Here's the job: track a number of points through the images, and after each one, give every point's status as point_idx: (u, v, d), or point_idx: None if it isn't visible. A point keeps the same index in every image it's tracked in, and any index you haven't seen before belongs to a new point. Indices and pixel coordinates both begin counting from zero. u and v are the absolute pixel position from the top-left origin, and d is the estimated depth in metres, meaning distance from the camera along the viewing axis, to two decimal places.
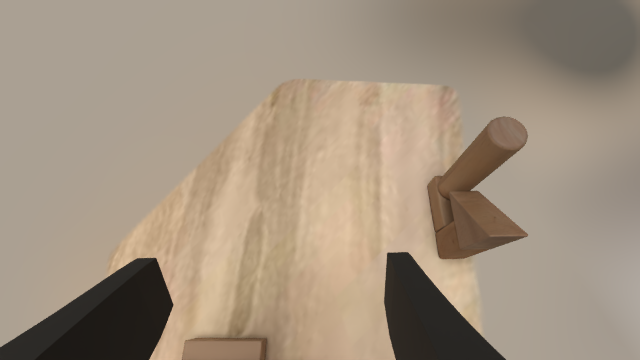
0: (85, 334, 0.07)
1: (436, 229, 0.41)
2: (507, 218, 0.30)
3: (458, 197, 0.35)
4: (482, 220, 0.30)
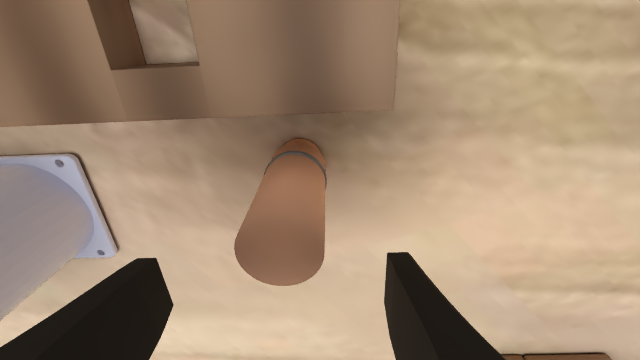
0: (85, 335, 0.07)
1: None
2: None
3: None
4: None
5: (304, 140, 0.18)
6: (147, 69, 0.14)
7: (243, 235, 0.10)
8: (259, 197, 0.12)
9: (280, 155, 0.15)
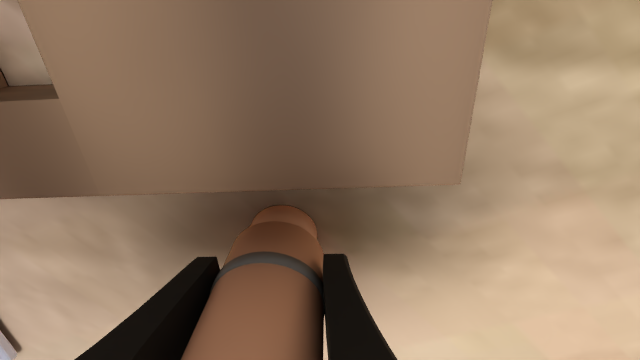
0: (167, 334, 0.07)
1: None
2: None
3: None
4: None
5: (289, 209, 0.11)
6: None
7: None
8: None
9: (238, 263, 0.08)
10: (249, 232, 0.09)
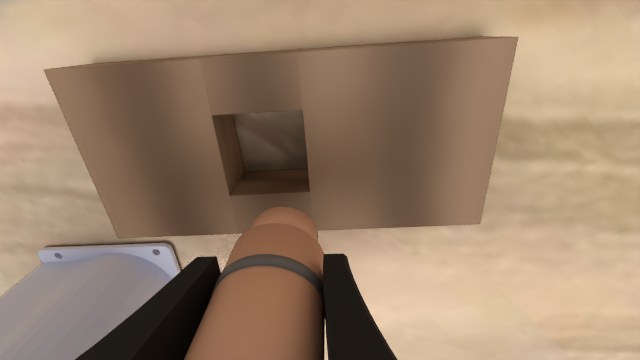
0: (167, 333, 0.07)
1: None
2: None
3: None
4: None
5: (288, 210, 0.11)
6: (262, 194, 0.15)
7: None
8: None
9: (236, 266, 0.08)
10: (248, 235, 0.09)
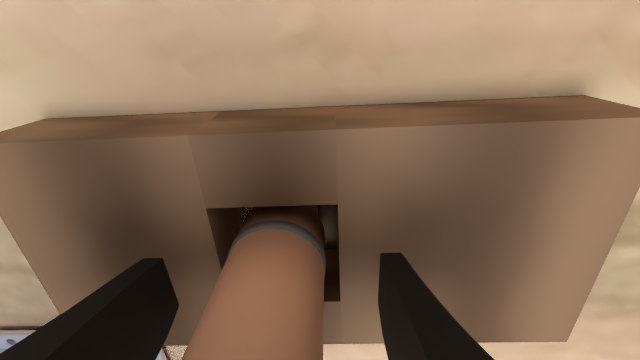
0: (94, 334, 0.07)
1: None
2: None
3: None
4: None
5: None
6: None
7: None
8: (190, 357, 0.06)
9: (249, 230, 0.09)
10: (257, 208, 0.11)
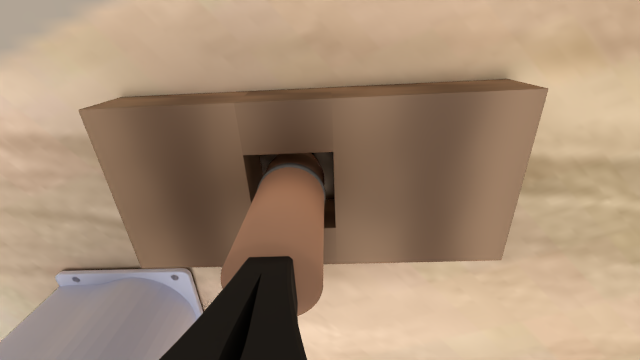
0: (240, 333, 0.06)
1: None
2: None
3: None
4: None
5: None
6: None
7: (229, 267, 0.09)
8: (248, 220, 0.10)
9: (273, 169, 0.14)
10: (277, 159, 0.15)
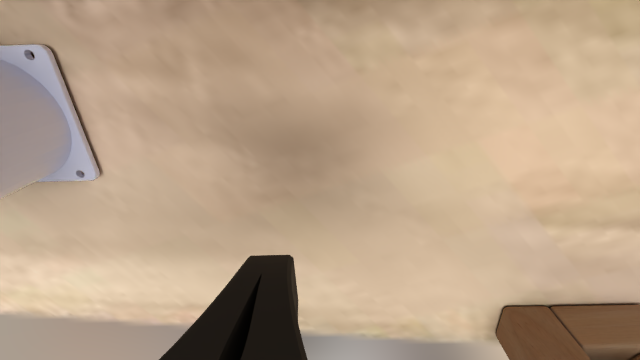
0: (241, 333, 0.06)
1: (559, 314, 0.23)
2: None
3: None
4: None
5: None
6: None
7: None
8: None
9: None
10: None
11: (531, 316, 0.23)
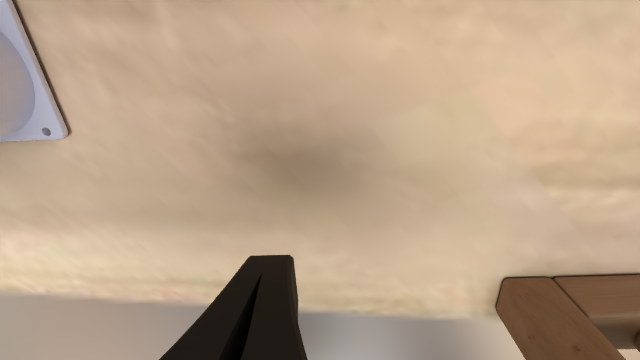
0: (240, 333, 0.06)
1: (563, 284, 0.22)
2: None
3: None
4: None
5: None
6: None
7: None
8: None
9: None
10: None
11: (533, 287, 0.22)
